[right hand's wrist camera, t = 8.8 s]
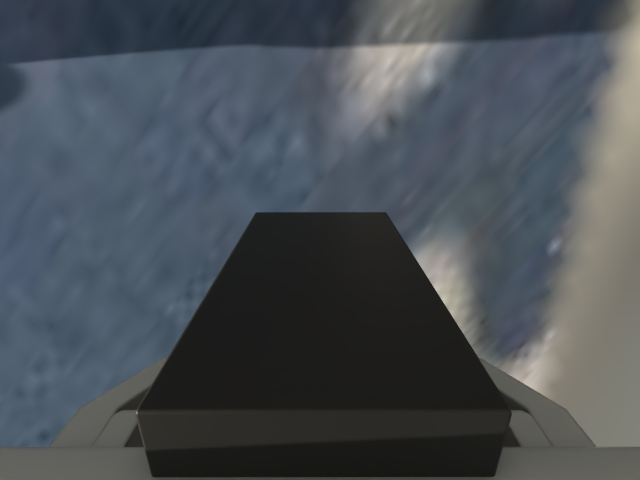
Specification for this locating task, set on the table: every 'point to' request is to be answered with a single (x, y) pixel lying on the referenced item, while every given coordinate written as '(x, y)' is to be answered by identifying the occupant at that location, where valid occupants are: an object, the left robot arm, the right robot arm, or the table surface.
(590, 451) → the right robot arm
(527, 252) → the table surface
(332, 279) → the bar
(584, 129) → the table surface
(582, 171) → the table surface
